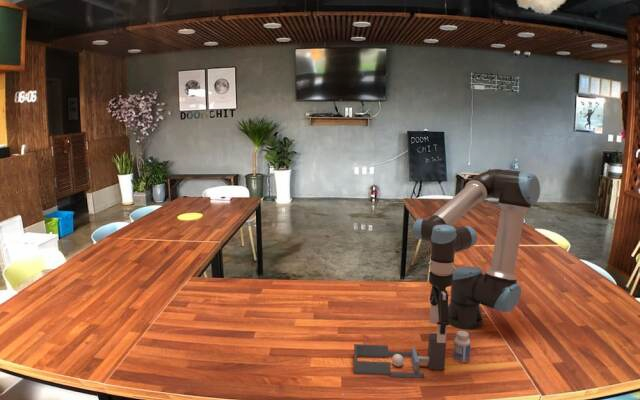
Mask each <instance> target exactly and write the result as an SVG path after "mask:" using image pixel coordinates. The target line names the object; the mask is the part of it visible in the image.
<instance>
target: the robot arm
mask: <svg viewBox="0 0 640 400" xmlns="http://www.w3.org/2000/svg"><path fill="white" fill-rule="evenodd" d="M540 194H541V184H540V180H539V178H538V176H537V175H536V174H534V173H533V172H528V171H527V172H526V171H521V170H519V171H518V170H509V169H500V168H499V169H498V168H494V169H489V170H486V171H483V172H481V173H479V174H477V175H475V176H473V178H471V179H470V180H468V181H467V182H466V183H465V185H464V188H462V189H461V191H459V192H457V194H456V195H455V196H453V197H452V198H451V199H449V201H447V202H446V203H445V204H444V205H443V206H441V207H440V208H439V209H438V210H437V211H435V212H434V213H433V214H432V215H430V217H428V218H427V219H426V218H417V219H416V220H415V221H414V222H413V224H412V235H413V237H414V238H415V239H417V240H421V241H422V242H428V243H431V244H430V259H429V260H430V261H428V265H429V274H428V275H429V276H428V283H429V284H430V285H431V290H430V295H429V301H430V302H429V304H430V306H429V307H430V309H429V324H436V325H437V332H436V334H437V343H446V344H447V329H448V326H450V325H451V326H453V327H456V328H459V329H465V330H473V329H478V328H481V327H482V326H483V323H484V322H483V321H484V319H483V318H484V317H483V314H482V310H481V306H482V305H483V306H484V307H488V308H490V309H494V310H495V311H499V312H503V313H508V312H511V311H513V309H514V308H515V307H516V306H517V305H518V303H519V301H520V298H521V294H522V288H521V286H520V284H518V283H517V281H518V278H517V276H516V275H515V270H516V269H515V268H516V264H517V257H518V252H519V249H520V241H521V237H522V230H523V227H524V221H525V216H526V215H525V214H526V213H527V211H530V210H531V208H532V205H534V204H537V203H538V200H539V198H540ZM486 199H496V200H497V199H498V205H499V207H500V215H499V220H498V225H497V229H496V230H497V231H496V235H495V241H494V245H493V246H494V247H493V252H492V257H491V263H490V268H489V269H487V270H485V271H484V272H485V273H484V274H483V270H482V268H480V267H478V266H474V265H472V266H470V265H469V266H468V265H467V266H466V265H465V266H458V267H455V253H457V252H460V251H464V250H468V249H470V248H472V247H474V246H475V245H476V244H477V241H478V233H477V232H476V230H475V229H474V228H473V227H471V226H468V225H465V226H464V225H462V226H454V224H455V223H456V222H457V221H459V220H460V219H462V217H463V216H465V214H467V213H468V212H469V211H470V210H471V209H473V208H474V206H476V205H477V204H478V203H482V202H484V201H486ZM454 267H455V268H454ZM448 287H450V295H449V293H448V290H446V288H448ZM449 297H450V299H449ZM449 300H450V301H449Z"/></svg>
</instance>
